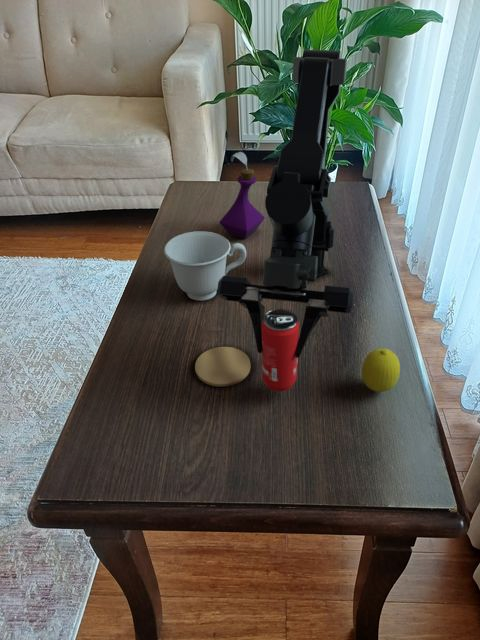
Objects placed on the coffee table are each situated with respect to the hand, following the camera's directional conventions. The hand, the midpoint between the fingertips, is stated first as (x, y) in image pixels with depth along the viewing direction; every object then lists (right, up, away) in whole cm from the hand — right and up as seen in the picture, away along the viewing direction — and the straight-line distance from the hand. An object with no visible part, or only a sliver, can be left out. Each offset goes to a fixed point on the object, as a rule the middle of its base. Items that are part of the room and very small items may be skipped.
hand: (278, 355), depth 73 cm
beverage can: (0, -4, +5) cm, 7 cm away
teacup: (-13, +12, +28) cm, 33 cm away
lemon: (+16, -6, +7) cm, 18 cm away
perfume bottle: (-7, +27, +45) cm, 53 cm away
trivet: (-9, -2, +11) cm, 14 cm away
